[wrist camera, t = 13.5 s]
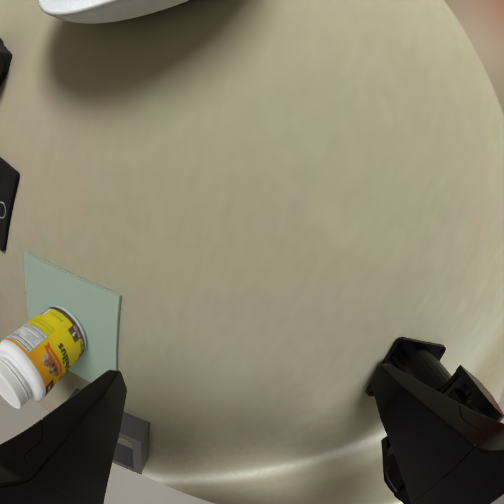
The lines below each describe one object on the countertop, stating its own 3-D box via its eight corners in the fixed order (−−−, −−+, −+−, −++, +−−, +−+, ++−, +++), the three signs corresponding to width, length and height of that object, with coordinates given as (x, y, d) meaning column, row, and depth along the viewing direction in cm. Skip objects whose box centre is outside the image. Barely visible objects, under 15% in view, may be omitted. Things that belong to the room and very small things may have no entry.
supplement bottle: (88, 362, 22) (33, 428, 12) (48, 336, 21) (-11, 388, 11) (91, 320, 20) (20, 388, 10) (47, 293, 20) (-26, 342, 10)
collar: (149, 422, 24) (141, 441, 21) (147, 458, 26) (141, 474, 23) (65, 382, 23) (53, 397, 20) (76, 425, 26) (67, 438, 23)
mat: (121, 295, 20) (119, 296, 19) (117, 392, 23) (116, 394, 22) (26, 251, 19) (24, 252, 19) (35, 346, 22) (33, 348, 22)
